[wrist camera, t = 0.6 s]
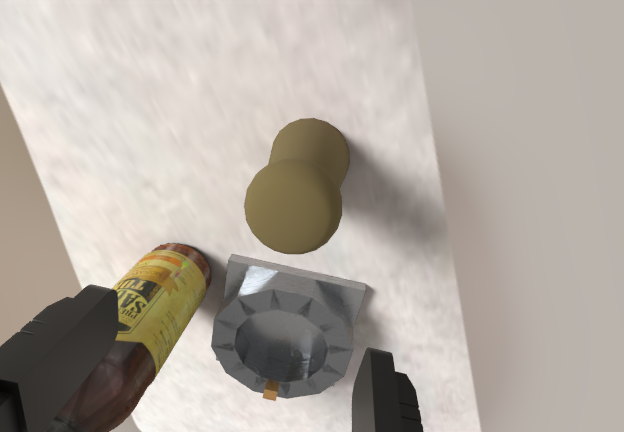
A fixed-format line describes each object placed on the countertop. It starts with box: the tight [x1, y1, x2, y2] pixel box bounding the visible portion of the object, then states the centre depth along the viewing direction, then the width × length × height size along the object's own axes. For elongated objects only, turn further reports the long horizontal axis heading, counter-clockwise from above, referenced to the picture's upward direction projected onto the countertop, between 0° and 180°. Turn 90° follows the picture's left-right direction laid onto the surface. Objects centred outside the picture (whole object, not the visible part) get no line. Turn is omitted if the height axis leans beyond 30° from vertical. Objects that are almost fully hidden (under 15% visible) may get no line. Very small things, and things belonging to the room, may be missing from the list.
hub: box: [211, 254, 366, 401], centre depth 33 cm, size 12×12×4 cm
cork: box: [244, 118, 349, 254], centre depth 23 cm, size 6×6×11 cm
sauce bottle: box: [43, 243, 211, 432], centre depth 25 cm, size 6×6×20 cm
